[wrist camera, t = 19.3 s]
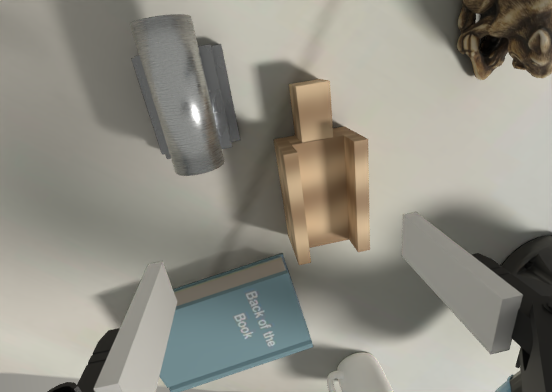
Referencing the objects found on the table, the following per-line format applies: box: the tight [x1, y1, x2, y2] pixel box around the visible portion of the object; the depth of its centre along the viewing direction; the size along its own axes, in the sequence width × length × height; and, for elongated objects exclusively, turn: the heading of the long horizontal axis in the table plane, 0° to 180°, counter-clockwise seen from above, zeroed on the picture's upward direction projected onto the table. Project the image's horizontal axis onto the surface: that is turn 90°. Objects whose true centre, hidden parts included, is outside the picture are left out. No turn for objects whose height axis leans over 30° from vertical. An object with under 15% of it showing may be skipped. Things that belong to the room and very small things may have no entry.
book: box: [159, 254, 313, 392], centre depth 45 cm, size 23×16×5 cm
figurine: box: [457, 0, 552, 80], centre depth 30 cm, size 6×14×10 cm, turn 7°
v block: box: [131, 44, 240, 159], centre depth 32 cm, size 10×9×4 cm
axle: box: [130, 15, 225, 176], centre depth 28 cm, size 13×5×5 cm, turn 8°
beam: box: [274, 79, 370, 265], centre depth 35 cm, size 20×9×7 cm, turn 8°
